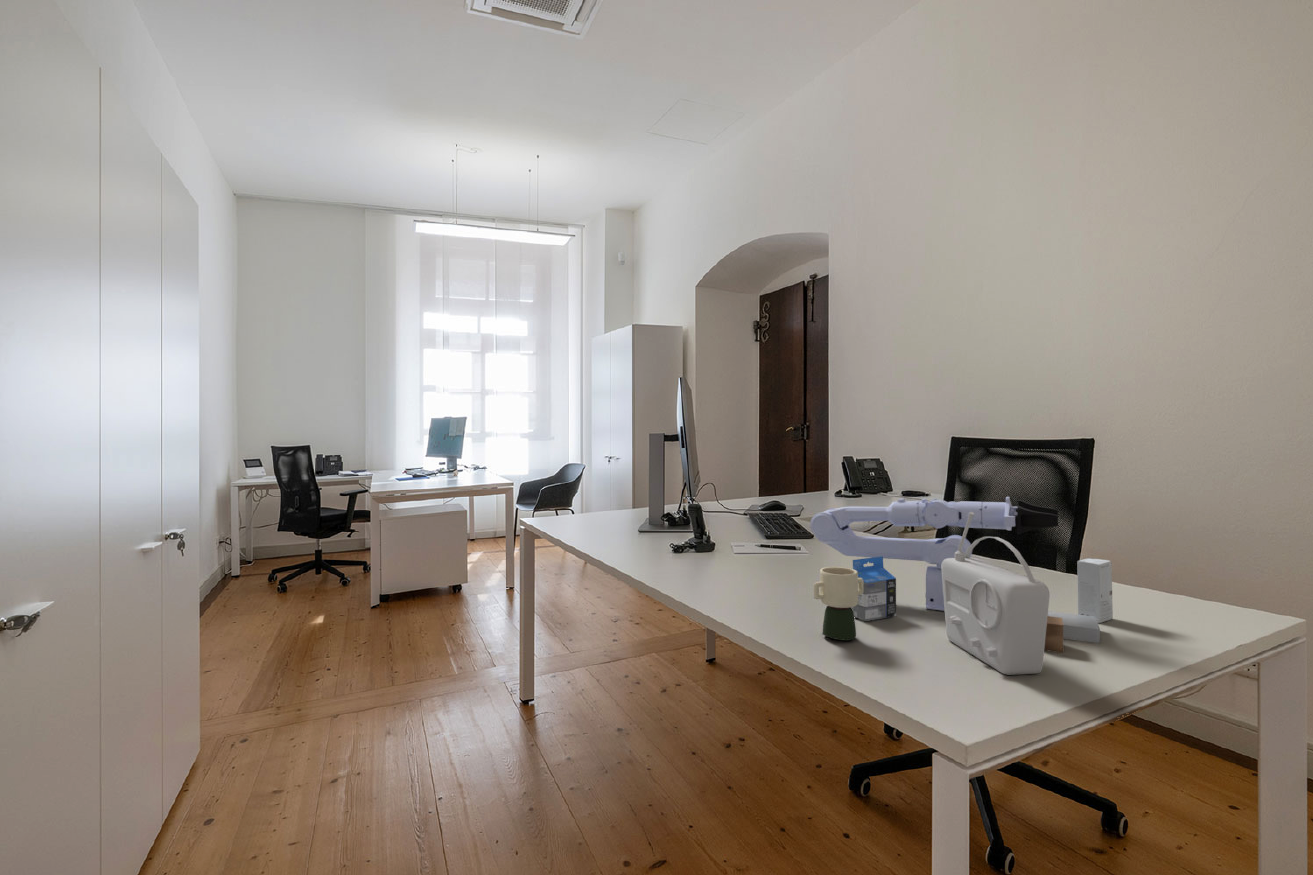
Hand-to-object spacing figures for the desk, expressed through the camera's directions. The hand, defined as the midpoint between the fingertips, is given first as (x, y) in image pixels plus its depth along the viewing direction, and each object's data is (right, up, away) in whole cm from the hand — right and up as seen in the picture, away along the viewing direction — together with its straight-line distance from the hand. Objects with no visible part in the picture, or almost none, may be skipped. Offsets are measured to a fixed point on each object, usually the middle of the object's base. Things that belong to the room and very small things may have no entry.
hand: (1058, 517), depth 127 cm
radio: (-24, -22, -18) cm, 38 cm away
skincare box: (+9, -22, +2) cm, 24 cm away
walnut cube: (-11, -22, -13) cm, 28 cm away
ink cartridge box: (-36, -22, +5) cm, 42 cm away
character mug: (-47, -22, -8) cm, 53 cm away
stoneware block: (-2, -22, -6) cm, 23 cm away
